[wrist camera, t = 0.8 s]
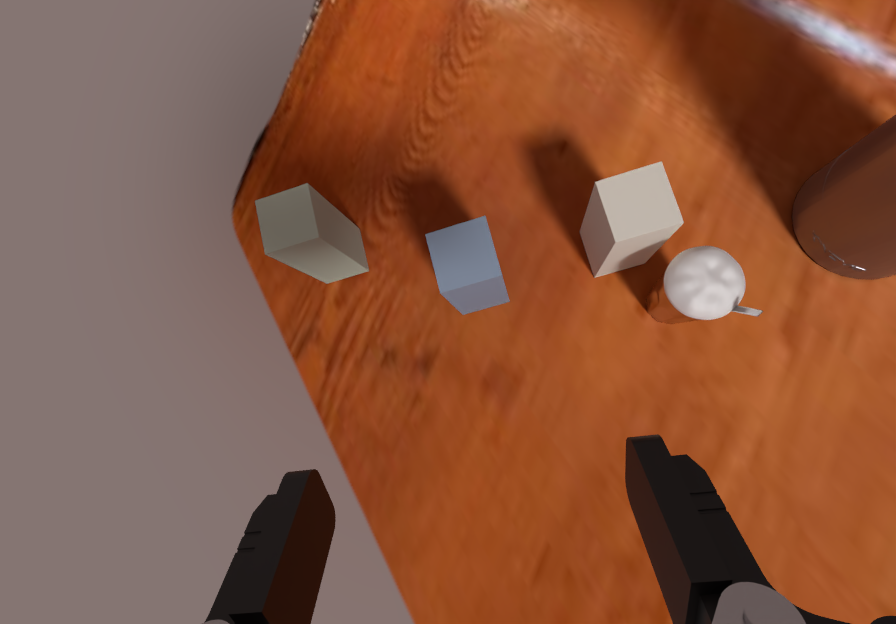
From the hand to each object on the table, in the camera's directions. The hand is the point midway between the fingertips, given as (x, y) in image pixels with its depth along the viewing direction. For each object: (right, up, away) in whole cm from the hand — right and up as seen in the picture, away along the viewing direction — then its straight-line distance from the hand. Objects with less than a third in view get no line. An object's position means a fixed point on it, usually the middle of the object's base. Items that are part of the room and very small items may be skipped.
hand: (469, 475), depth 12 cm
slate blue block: (+2, +6, +27) cm, 28 cm away
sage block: (-10, +9, +30) cm, 33 cm away
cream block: (+13, +9, +26) cm, 30 cm away
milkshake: (+17, +5, +24) cm, 30 cm away
